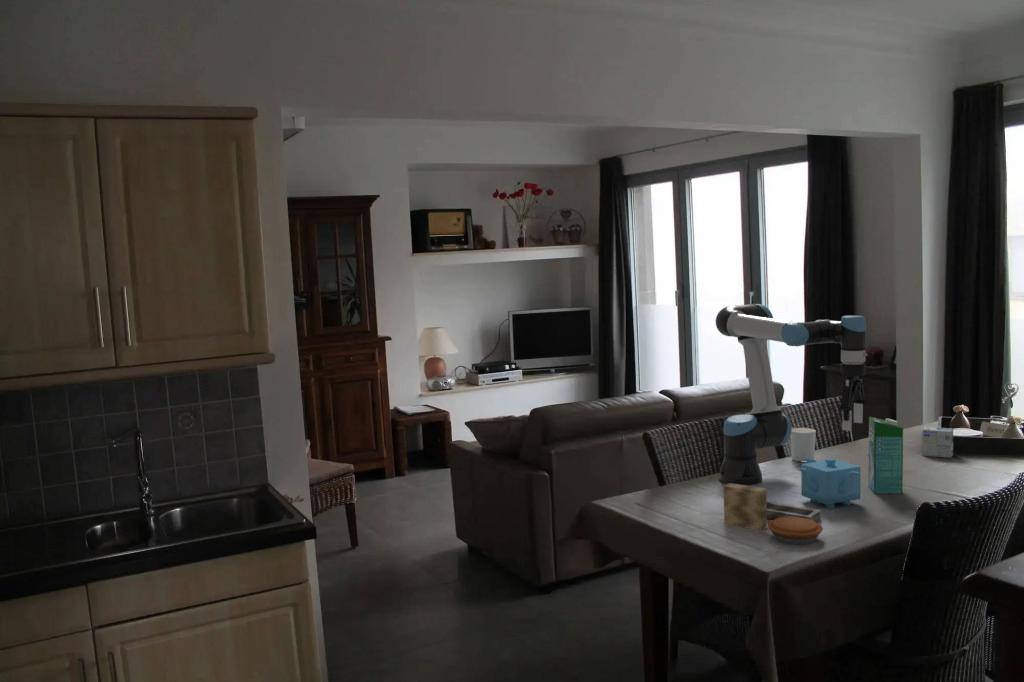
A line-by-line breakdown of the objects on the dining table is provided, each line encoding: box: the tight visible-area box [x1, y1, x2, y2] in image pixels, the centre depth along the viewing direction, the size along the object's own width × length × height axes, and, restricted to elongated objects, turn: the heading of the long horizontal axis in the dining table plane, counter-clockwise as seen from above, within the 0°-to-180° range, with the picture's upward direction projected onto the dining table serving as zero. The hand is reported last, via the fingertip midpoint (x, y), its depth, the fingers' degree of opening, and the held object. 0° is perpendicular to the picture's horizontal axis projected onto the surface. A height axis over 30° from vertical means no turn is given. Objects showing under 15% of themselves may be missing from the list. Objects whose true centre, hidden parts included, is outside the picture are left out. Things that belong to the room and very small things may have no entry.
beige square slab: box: [723, 483, 768, 531], centre depth 258 cm, size 12×4×12 cm, turn 51°
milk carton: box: [868, 416, 904, 495], centre depth 289 cm, size 9×9×25 cm
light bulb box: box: [921, 426, 954, 459], centre depth 335 cm, size 11×7×11 cm, turn 58°
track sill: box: [767, 501, 822, 523], centre depth 264 cm, size 20×9×3 cm, turn 51°
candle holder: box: [790, 427, 817, 462], centre depth 336 cm, size 10×10×12 cm
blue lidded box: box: [797, 457, 862, 509], centre depth 278 cm, size 19×19×15 cm
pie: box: [767, 517, 824, 545], centre depth 246 cm, size 16×16×5 cm
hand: (852, 426), depth 278 cm, fingers open, 13 cm apart
